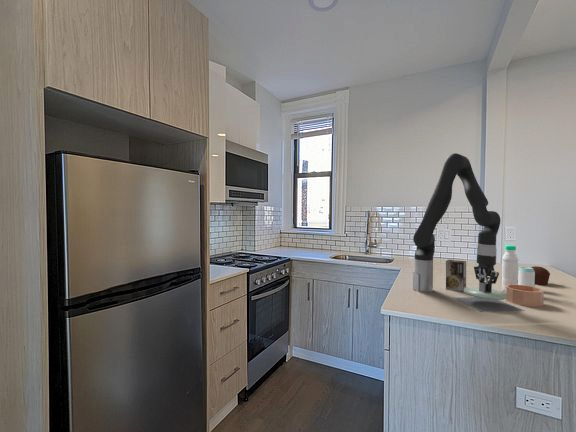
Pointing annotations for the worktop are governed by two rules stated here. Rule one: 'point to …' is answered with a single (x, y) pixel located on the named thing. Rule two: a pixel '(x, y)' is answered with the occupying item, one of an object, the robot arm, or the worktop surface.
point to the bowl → (524, 295)
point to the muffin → (541, 275)
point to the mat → (487, 304)
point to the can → (526, 276)
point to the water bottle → (509, 267)
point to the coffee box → (455, 275)
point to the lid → (482, 292)
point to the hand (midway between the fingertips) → (485, 290)
